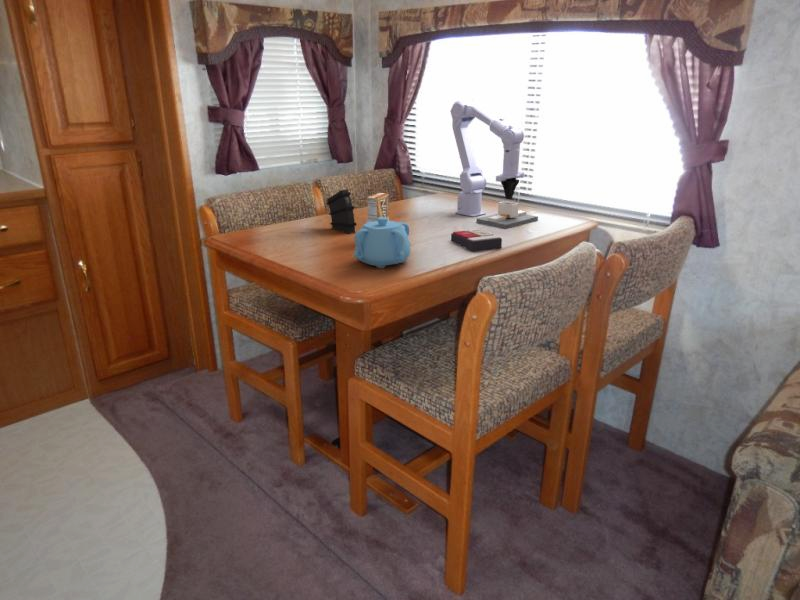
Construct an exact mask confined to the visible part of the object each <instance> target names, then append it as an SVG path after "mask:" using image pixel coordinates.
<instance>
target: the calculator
mask: <svg viewBox="0 0 800 600" xmlns="http://www.w3.org/2000/svg"><path fill="white" fill-rule="evenodd" d="M450 241H451V242H453V243H454V244H456V245H459V246H460V247H463V248H465V250H468V251H469V252H472V253H477V252H482V251H491V250H499V249H502V245H503V244H502V243H503V240H502V237H501V236H498V235H494V234H493V233H490V232H488V231H485V230H482V229H479V228H476V229H467V230H460V231H459V230H458V231H453V232H451V234H450Z"/></svg>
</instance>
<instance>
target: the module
mask: <svg viewBox="0 0 800 600" xmlns="http://www.w3.org/2000/svg"><path fill="white" fill-rule="evenodd" d="M519 204H520V203H517V202H513V201H512V202H511V201H507V200H504V201H500V202H498V207H497V209H498V210H497V214H498V215H500V214H507V215H509V217H510V218H513V217H517V216H518V210H519V206H520V205H519Z"/></svg>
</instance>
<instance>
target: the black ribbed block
mask: <svg viewBox="0 0 800 600" xmlns="http://www.w3.org/2000/svg"><path fill="white" fill-rule="evenodd" d="M351 195H352V193H351V191H349V189H347V188H346V189H341V190H339V191H338V192H336V193H334V194H333V195H332V196H330V197H329V198H327V199H326V200H327V202H326V205H327V206H328V207H329V211H330V213H329V214H328V215H329V216H330V218H331V222H330V223H329V224H330V225H331V228H332V229H333V230H336V231H338V232H342V233H346V234H348V235H350V234H353V233H354V234H355V233H356V226H357V222H355V215H354V210H355V206H354V205H353V203H352V199H351Z"/></svg>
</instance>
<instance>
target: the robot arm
mask: <svg viewBox="0 0 800 600" xmlns="http://www.w3.org/2000/svg"><path fill="white" fill-rule="evenodd" d="M450 115H451V120H452V132H453V135H454V139H455V142H456V143H455V144H456V147H457V151H458V156H459V158H460V163H461V167H462V171H461V173H460V174H459V178H460V180H459V181H460V183H459V185H460V189H461V191H460V192H459V193H458V195H457V211H456V212H455V214H458V215H464V216H468V217H479V216H482V215H486V212H484V211H482V202H483V201H482V196H483V193H484V189H485V188H486V187H487V179H486V177H485V176H484V174H483V171H482V170H481V169H480V168H479V167H478V166H477V162H476V158H475V154H474V150H473V147H472V143H471V138H470V135H469V130H468V126H469V125H470V124H471V123H473V120H474V119H475V118H476V119H478V120H479V121H481V122H482V123H484V124H486V125H487V126H489V131H490V132H492V133H493V134H494V135H495V136H497V137H498V138H499V139H501V143H502V146H503V160H502V161H503V162H502V163H503V164H502V173H501V174H499V175H496V176H495V182H500V183H501V186H502V188H503V192H504V196H505V199H507V200H512V199H513V196H514V193H515V190H516V188H517V186H518V185H519V183H520V179H519V178H521V179H523V178H524V176H525V172H524V171H523V172H521V171H519V167H520V165H519V164H520V151H521V149H520V148H521V143H522V142H523V141H524V137H525V136H524V132H523V130H522V129H521V128H520V127H514V125H513V124H509V123H508V122H507V121H505V118H504V117H494V116H493V115H491V113H489V112H488V110H486V109H485V108H484V107H482V106H481V103H478V102H477V101H475V100H469V101H465V100H464V101H463V100H462V101H459V100H458V101H455V102H454V103H453V104H452V107H451V109H450Z"/></svg>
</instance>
